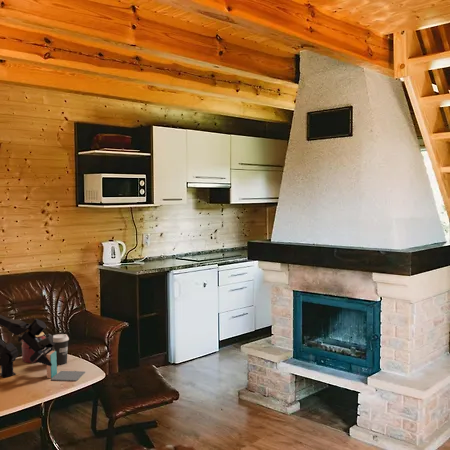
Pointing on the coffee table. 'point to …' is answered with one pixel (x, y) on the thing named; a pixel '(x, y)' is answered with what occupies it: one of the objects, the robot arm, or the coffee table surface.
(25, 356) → the canister
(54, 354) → the tile
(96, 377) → the coffee table surface
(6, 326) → the robot arm
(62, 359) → the coffee cup
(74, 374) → the mat
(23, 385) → the coffee table surface
